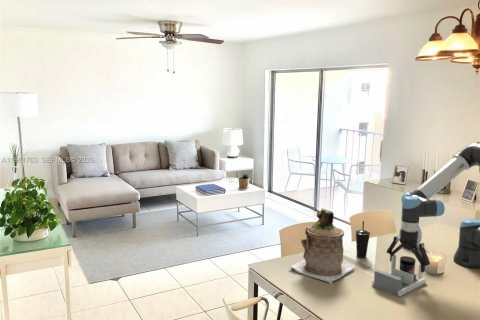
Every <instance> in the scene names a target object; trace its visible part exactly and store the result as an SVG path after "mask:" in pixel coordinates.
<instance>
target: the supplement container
mask: <svg viewBox="0 0 480 320" xmlns="http://www.w3.org/2000/svg"><path fill="white" fill-rule="evenodd" d="M398 269H399V270H401V271H404V272H407V273H410V274H413V275H414V273H415V274H416V272H415V271H416V258H414V257H412V256H409V255H408V256H406V255H405V256H404V255H403V256H401V257H399V268H398ZM413 281H414V277H413Z"/></svg>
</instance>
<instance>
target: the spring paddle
mask: <svg viewBox="0 0 480 320" xmlns="http://www.w3.org/2000/svg"><path fill="white" fill-rule="evenodd" d="M399 269H400V268H396V267H395V268H391V267H390V272H391V275H394V276H397V277H399V278H402V283H405V284H408V285H411V284H413V277H414V275H413V274H410V273H407V272H404V271H401V270H399Z"/></svg>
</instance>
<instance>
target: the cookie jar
mask: <svg viewBox="0 0 480 320" xmlns="http://www.w3.org/2000/svg"><path fill="white" fill-rule="evenodd" d="M334 215H335V214H334V212H333V211H331V210H328V209H326V208H321V209H320V210H318V211H317V212H316V217H317V218H318V220H317V221H316V222H315V223H313V224H312V225H310V226H307V227H306V228H305V235H306V238H305V239H301V240H300V243H301V246H302V247H303V249H304V253H303V256H302V257H303V259H302V260H300V261H298V262H296V263H295V264H291V265H289V268H290V269H293V270H294V271H295V272H297V273H299V274H303V275H306V276H308V277H311V278H314V279H318V280H321V281H323V282H327V283H329V284H331V285H332V284H333V282H335V281H337V280H339V279H341V278H342V277H344V276H345V275H347V274H349V273H350V272H353V271H354V270H355V268H356V266H355V265H352V264H349V263H344V246H343V243H344V242H343V239H344V238H343V237H344V236H345V231H344V230H343V229H341V228H339V227H337V226H334Z"/></svg>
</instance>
